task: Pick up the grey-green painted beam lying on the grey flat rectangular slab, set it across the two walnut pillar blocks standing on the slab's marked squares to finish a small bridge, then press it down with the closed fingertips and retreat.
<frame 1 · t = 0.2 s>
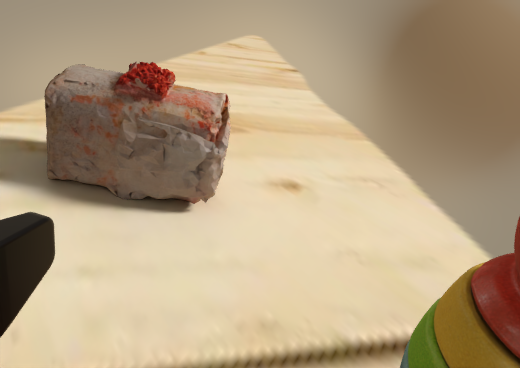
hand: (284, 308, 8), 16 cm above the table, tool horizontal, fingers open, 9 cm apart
food item: (137, 182, 41), on the table
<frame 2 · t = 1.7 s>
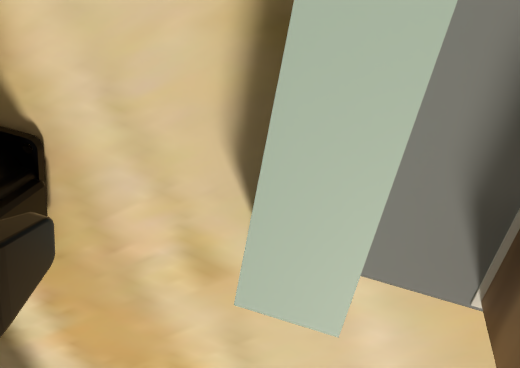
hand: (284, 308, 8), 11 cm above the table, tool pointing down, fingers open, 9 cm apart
grey flat rectangular slab: (506, 147, 18), on the table
beam: (343, 110, 18), resting on grey flat rectangular slab
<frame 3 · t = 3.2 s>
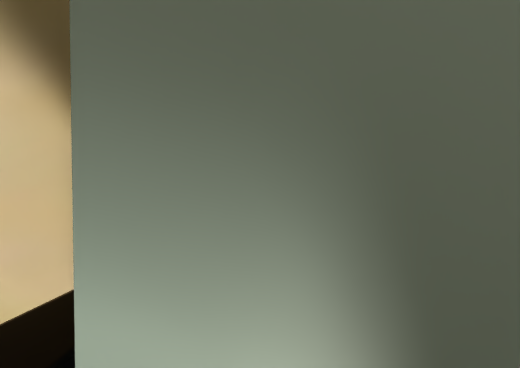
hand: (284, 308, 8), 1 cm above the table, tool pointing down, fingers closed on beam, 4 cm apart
beam: (293, 279, 9), resting on grey flat rectangular slab, touching gripper
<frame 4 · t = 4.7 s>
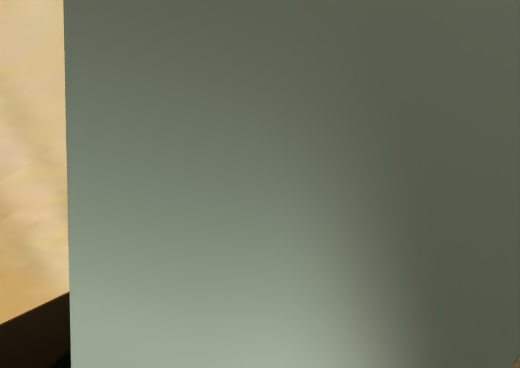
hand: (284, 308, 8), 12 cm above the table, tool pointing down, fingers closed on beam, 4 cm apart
beam: (290, 278, 9), point 11 cm above the table, touching gripper
when the fingers open (7 cm above the table, at t = 6.0 s): beam drops 1 cm, resting on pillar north, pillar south.
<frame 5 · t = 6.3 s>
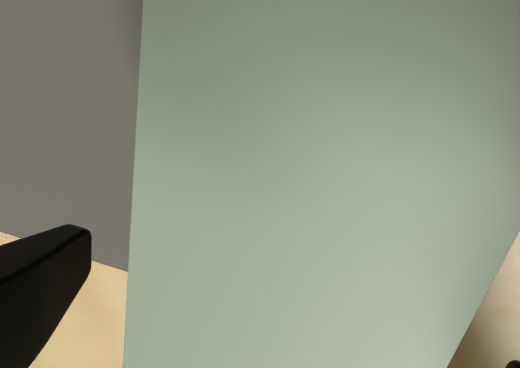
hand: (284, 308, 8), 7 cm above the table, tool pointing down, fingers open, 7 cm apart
grey flat rectangular slab: (210, 115, 15), on the table
beam: (304, 244, 10), point 5 cm above the table, touching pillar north, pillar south
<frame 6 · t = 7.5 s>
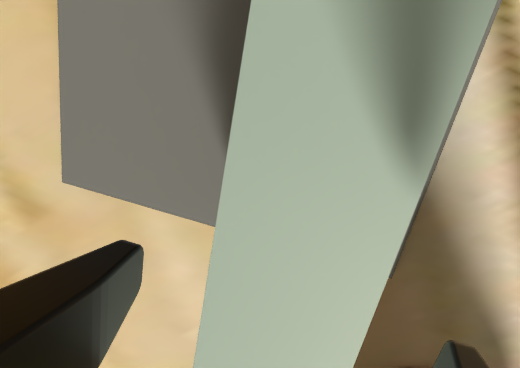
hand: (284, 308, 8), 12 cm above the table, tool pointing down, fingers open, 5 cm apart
grey flat rectangular slab: (245, 79, 19), on the table
beam: (326, 159, 14), point 5 cm above the table, touching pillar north, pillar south
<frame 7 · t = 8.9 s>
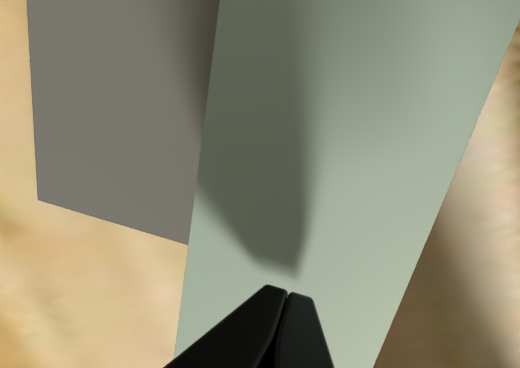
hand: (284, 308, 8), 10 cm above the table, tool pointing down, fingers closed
grey flat rectangular slab: (231, 92, 18), on the table
beam: (317, 187, 12), point 5 cm above the table, touching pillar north, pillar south
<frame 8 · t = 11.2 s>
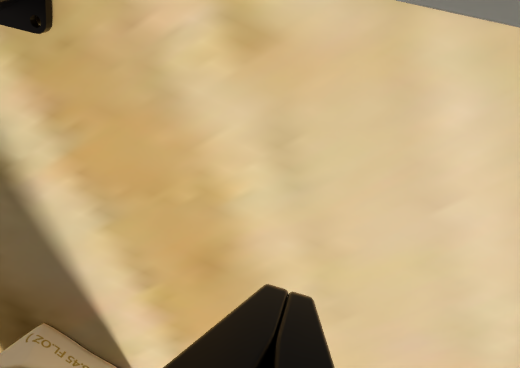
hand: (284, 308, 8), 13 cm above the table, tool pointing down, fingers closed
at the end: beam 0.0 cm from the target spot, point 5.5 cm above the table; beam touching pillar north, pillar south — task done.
